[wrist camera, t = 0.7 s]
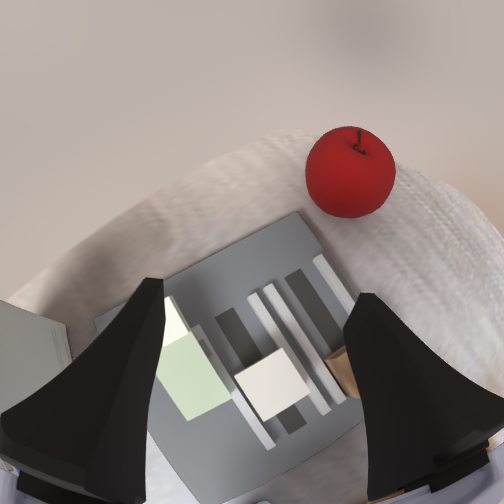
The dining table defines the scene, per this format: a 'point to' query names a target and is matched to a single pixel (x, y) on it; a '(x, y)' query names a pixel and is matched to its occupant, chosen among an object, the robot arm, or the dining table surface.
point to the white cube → (272, 384)
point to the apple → (349, 172)
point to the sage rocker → (187, 367)
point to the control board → (252, 350)
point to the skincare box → (28, 353)
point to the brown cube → (342, 372)
